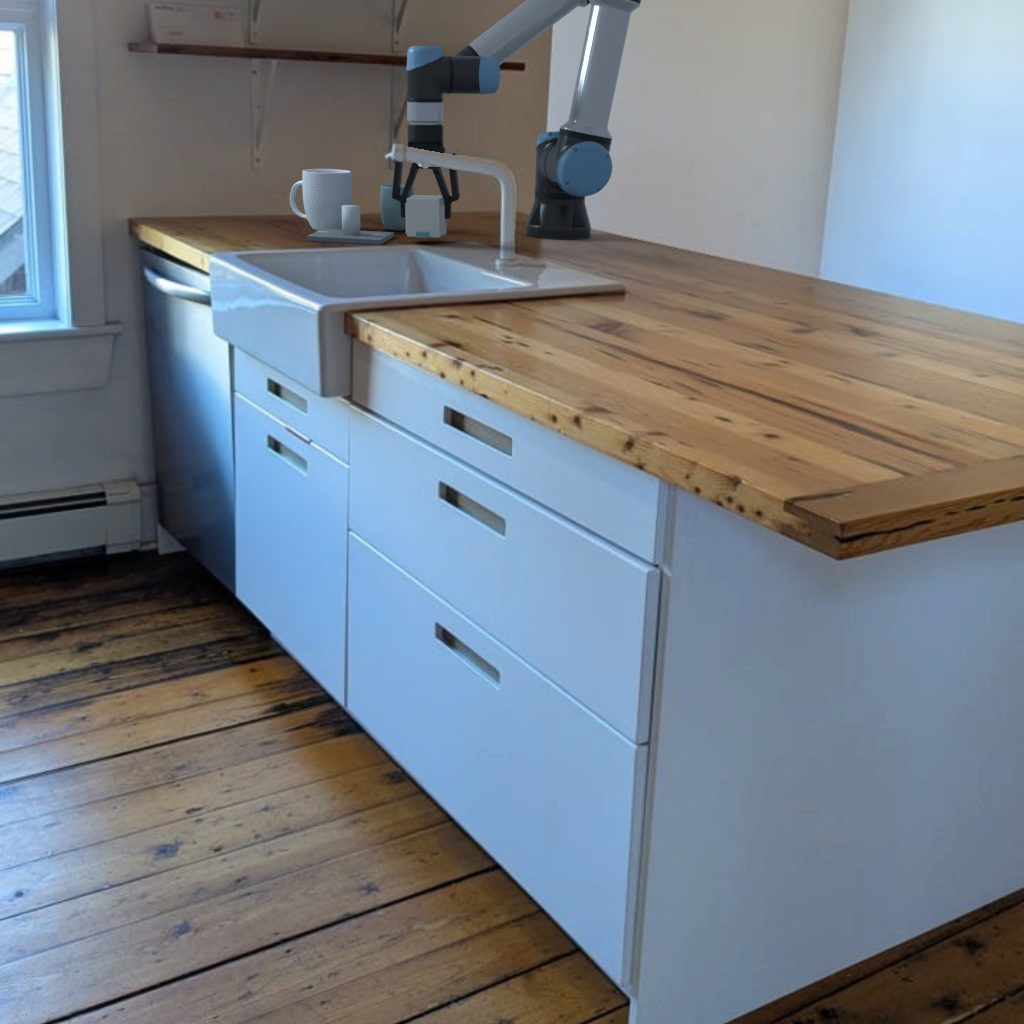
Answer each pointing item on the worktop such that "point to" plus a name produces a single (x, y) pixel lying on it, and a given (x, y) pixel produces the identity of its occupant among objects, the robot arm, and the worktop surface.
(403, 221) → the cup
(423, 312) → the worktop surface
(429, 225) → the grey cube
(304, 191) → the mug
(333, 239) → the post plate
